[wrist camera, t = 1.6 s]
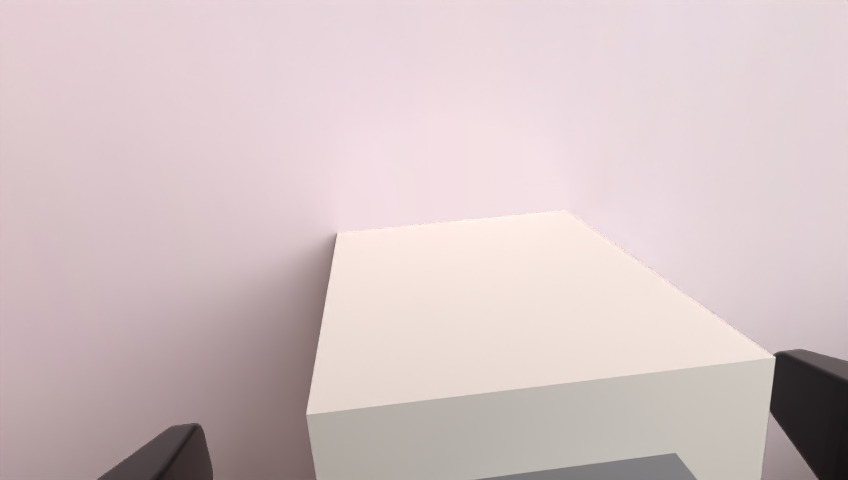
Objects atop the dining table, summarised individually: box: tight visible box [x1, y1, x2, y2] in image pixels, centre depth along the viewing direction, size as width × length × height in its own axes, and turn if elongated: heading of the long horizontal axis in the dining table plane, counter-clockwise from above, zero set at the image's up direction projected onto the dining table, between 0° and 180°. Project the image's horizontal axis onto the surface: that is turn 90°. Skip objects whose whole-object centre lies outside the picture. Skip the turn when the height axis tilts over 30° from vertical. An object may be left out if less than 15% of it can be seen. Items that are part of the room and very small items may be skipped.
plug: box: [306, 210, 776, 480], centre depth 8 cm, size 4×4×7 cm
